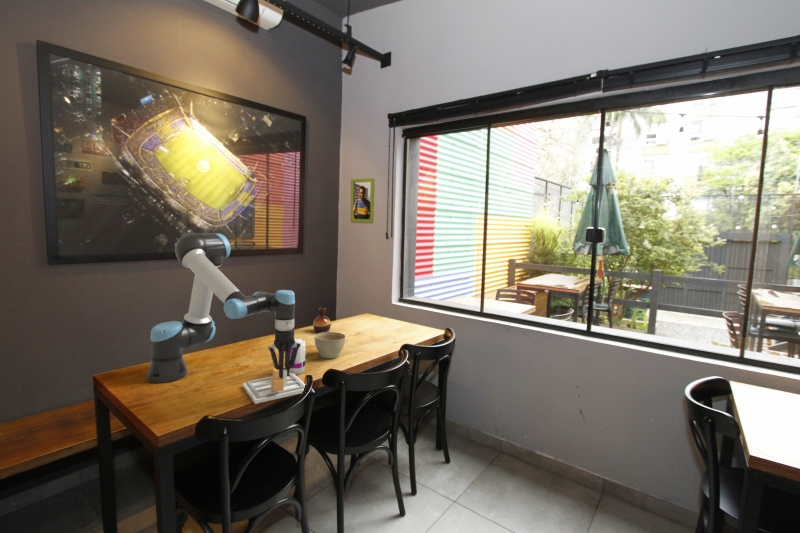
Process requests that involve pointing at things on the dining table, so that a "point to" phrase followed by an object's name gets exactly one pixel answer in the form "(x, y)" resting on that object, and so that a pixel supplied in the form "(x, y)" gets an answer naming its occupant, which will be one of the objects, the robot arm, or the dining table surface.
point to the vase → (321, 322)
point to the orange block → (275, 373)
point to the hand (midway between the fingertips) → (283, 384)
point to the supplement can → (298, 358)
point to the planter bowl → (329, 344)
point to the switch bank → (262, 390)
